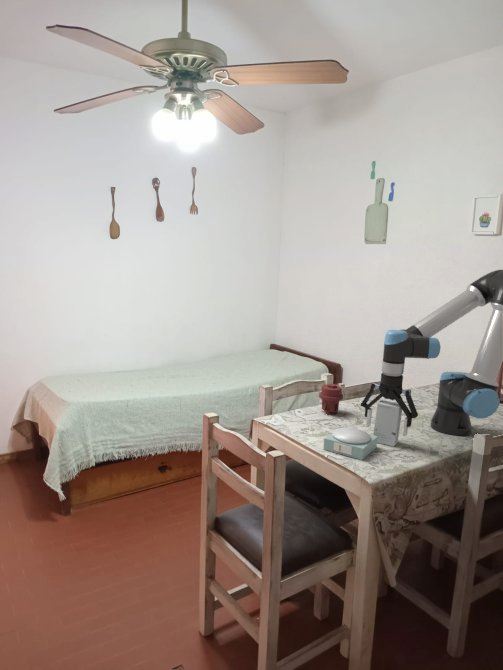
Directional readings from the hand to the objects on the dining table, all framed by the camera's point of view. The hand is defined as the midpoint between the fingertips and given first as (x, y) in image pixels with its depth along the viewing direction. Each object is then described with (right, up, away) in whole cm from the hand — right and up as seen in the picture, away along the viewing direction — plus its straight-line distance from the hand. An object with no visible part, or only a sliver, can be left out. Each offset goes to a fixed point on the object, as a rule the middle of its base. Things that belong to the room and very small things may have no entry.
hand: (386, 430), depth 178 cm
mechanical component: (-16, +1, +31) cm, 35 cm away
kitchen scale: (-14, -5, -6) cm, 16 cm away
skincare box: (0, -5, +1) cm, 5 cm away
